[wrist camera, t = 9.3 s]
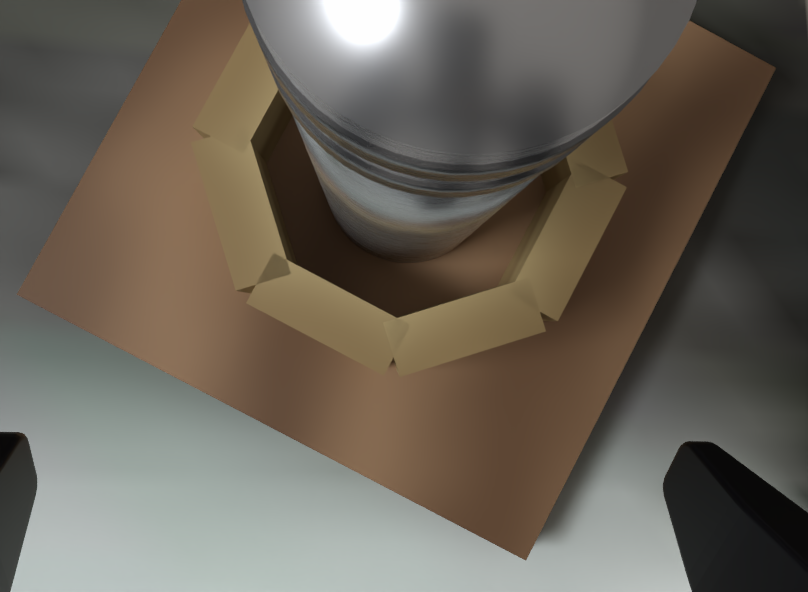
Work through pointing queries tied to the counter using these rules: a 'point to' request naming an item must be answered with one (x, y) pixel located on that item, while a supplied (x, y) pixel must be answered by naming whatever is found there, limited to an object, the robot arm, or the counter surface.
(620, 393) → the counter surface
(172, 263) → the ring board
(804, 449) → the counter surface
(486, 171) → the piston
